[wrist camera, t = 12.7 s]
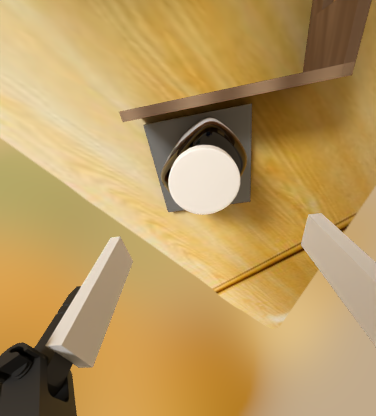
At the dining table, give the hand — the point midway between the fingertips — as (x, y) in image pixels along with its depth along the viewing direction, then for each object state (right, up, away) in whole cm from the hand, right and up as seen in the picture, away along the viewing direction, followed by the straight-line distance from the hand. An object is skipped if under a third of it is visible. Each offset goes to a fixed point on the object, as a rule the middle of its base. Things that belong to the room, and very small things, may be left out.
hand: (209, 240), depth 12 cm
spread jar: (+1, +9, +15) cm, 17 cm away
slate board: (+1, +9, +16) cm, 18 cm away
